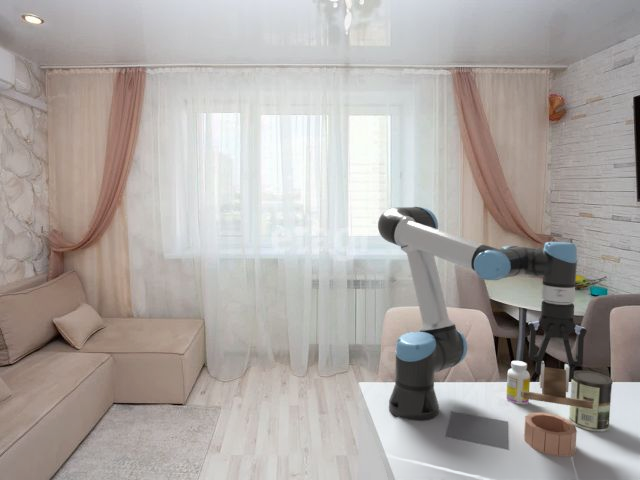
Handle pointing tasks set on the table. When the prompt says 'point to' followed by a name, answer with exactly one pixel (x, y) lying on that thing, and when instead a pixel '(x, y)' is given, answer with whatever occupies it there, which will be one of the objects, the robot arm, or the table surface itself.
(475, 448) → the table surface
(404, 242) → the robot arm
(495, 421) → the rubber mat
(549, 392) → the walnut lid
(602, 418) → the coffee can
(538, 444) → the terracotta bowl
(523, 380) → the supplement bottle
